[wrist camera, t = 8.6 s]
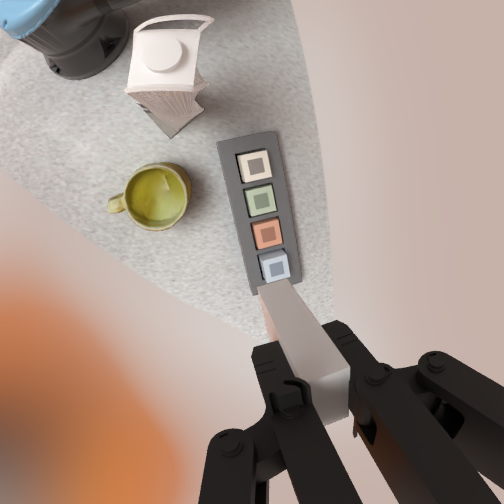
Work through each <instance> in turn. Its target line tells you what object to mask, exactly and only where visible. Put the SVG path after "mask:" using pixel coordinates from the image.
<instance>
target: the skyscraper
mask: <svg viewBox="0 0 504 504" xmlns="http://www.w3.org/2000/svg"><path fill="white" fill-rule="evenodd" d="M169 20H203V21H205V22H204V23H203V24H202V25H201V26H200V27H199V28H198V29H154V30H141V29H142V28H144V27H145V26H147V25H149V24H152V23H156V22H161V21H169ZM214 21H215V19H213V18H212V17H210V16H206V15H196V14H178V15H167V16H161V17H156V18H153V19H150V20H148V21H146V22H144V23H142V24H141V25H139V26H138V27H137V28H136V29H135V30H134V35H133V52H132V59H131V65H130V71H129V78H128V85H127V88H126V89H125V90H124V92H126V93H127V94H128V95H130V96H131V97H132V98H134V99H135V100H136V103H137V104H139V105H140V106H141V109H143V110H144V111H145V112H146V113H147V115H148V116H149V117H150V118H151V119H152V120H153V121H154V122H155V123H156V124H157V125H158V126H159V127H160V128H161V130H162V131H163V132H164V133H165V134H166V135H167V136H168V137H169V138H170V139H171V138H172V137H173V136H174V135H175V134H176V133H178V132H179V131H180V130H181V129H182V128H183V127H184V126H186V125H187V124H188V123H189V122H190V121H191V120H193V119H194V118H195V117H196V116H197V115H199V114H200V113H201V112H202V111H203V110H204V108H203V107H202V106H201V105H200V104H199V103H198V102H197V101H196V100H195V97H196V95H197V94H198V93H199V91H200V90H201V89H203V88H205V87H207V86H208V85H209V83H208V82H205V81H204V80H203V79H202V77H201V76H200V74H199V72H198V70H197V66H196V60H197V52H198V45H199V39H200V33H201V32H202V31H204V30H205V29H206V28H207V27H208V26H209V25H210V24H211V23H213V22H214Z"/></svg>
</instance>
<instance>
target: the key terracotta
mask: <svg viewBox="0 0 504 504" xmlns="http://www.w3.org/2000/svg"><path fill="white" fill-rule="evenodd" d="M251 228H252V232H253V237H254V241H255V245H256V246H257V248H258V249H262V248H266V247H270V246H274V245H277V244H281V243H282V237H281V232H280V226H279V221H278V219H277V218H276V217H271V218H267V219H263V220H259V221H255V222H251Z"/></svg>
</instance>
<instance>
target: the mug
mask: <svg viewBox="0 0 504 504" xmlns="http://www.w3.org/2000/svg"><path fill="white" fill-rule="evenodd" d="M191 191H192V188H191V182H190V179H189V176H188V175H187V173H186V172H185V171H184V170H183V169H182V168H181V167H180V166H178V165H175V164H173V163H167V162H161V163H154V164H148V165H145V166H143V167H141V168H139V169H138V170H136V171H135V172H134V173H133V174H132V175H131V176H130V178H129V179H128V180H127V182H126V185H125V188H124V192H123V193H120V194H118V195H116V196H114V197H112V198H110V199H109V200H108V203H107V209H108V213H120V212H122V211H124V210H126V211H127V213H128V215H129V217H130V218H131V220H132V221H133V222H134V223H135V224H137V225H138V226H139V227H141V228H143V229H146V230H150V231H163V230H167V229H169V228H171V227H172V226H174V225H175V224H176V223H177V222H178V221H179V220H180V219H181V217H182V216H183V215H184V213H185V211H186V209H187V207H188V204H189V200H190V197H191Z"/></svg>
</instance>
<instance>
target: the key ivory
mask: <svg viewBox="0 0 504 504" xmlns="http://www.w3.org/2000/svg"><path fill="white" fill-rule="evenodd" d="M237 158H238V163H239V168H240V172H241V177H242V181H244V182H245V183H246V182H251V181H255V180H259V179H264V178H268V177H272V174H271V169H270V164H269V159H268V154H267V150H263V151H257V152H253V153H248V154H243V155H239V156H237Z"/></svg>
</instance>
